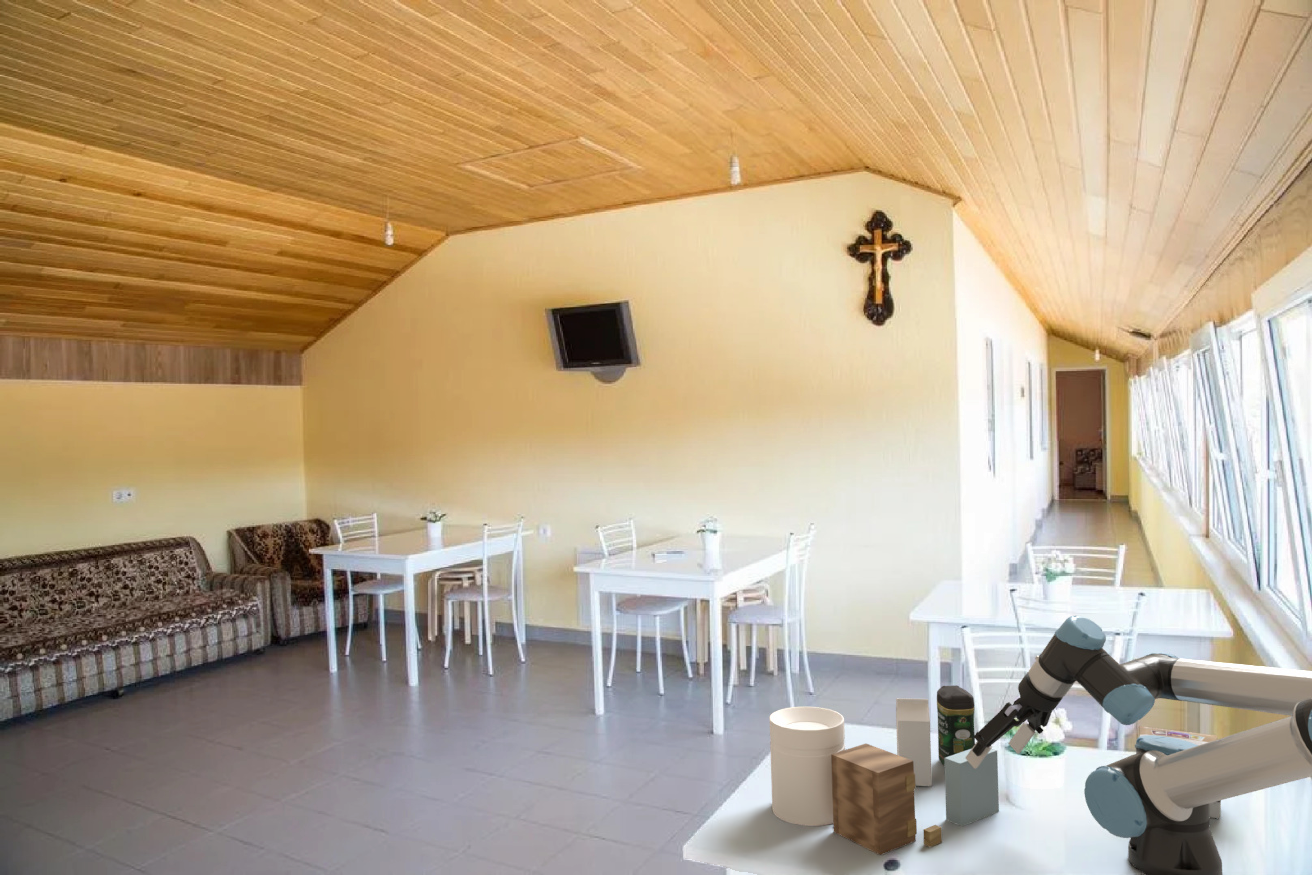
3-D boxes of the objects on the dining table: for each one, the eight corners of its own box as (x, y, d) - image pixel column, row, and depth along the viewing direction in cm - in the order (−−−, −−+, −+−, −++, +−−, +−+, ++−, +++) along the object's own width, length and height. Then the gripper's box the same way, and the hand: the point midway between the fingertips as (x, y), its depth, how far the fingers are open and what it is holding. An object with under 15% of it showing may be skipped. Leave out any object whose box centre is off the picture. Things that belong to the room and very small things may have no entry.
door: (998, 811, 196) (997, 750, 196) (961, 826, 190) (960, 763, 189) (983, 804, 200) (981, 745, 199) (946, 819, 193) (944, 757, 193)
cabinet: (941, 842, 183) (939, 761, 182) (894, 862, 175) (892, 778, 175) (879, 814, 196) (877, 739, 196) (833, 831, 189) (831, 754, 189)
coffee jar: (934, 758, 227) (932, 683, 227) (966, 757, 227) (964, 682, 227) (947, 773, 217) (944, 694, 217) (980, 772, 217) (978, 693, 217)
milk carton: (931, 787, 210) (929, 703, 209) (899, 785, 211) (897, 703, 211) (929, 775, 217) (926, 694, 216) (897, 773, 218) (895, 693, 218)
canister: (789, 789, 211) (786, 702, 211) (857, 802, 203) (854, 712, 202) (760, 816, 197) (757, 723, 197) (831, 831, 189) (828, 734, 189)
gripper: (1069, 658, 186) (1018, 728, 196) (989, 680, 172) (939, 753, 183) (1098, 686, 181) (1044, 756, 191) (1019, 711, 167) (965, 785, 178)
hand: (992, 755), depth 187 cm, fingers open, 13 cm apart
